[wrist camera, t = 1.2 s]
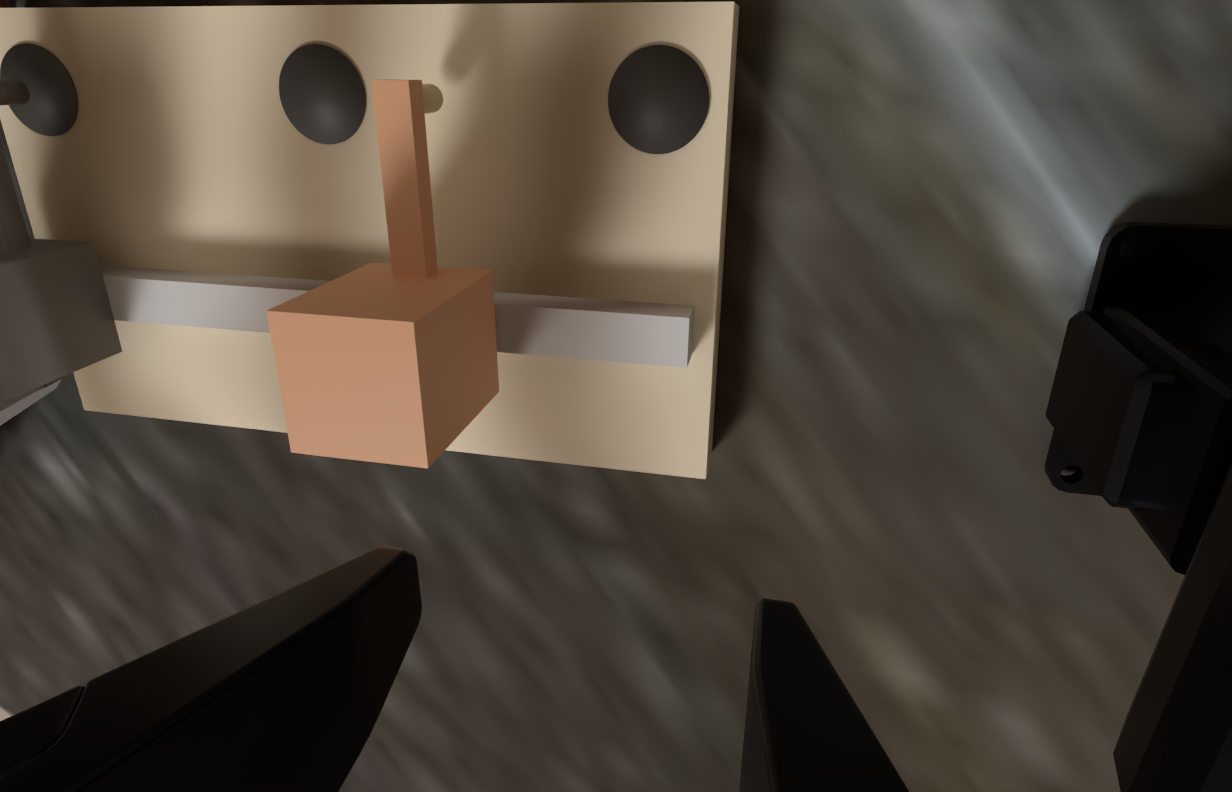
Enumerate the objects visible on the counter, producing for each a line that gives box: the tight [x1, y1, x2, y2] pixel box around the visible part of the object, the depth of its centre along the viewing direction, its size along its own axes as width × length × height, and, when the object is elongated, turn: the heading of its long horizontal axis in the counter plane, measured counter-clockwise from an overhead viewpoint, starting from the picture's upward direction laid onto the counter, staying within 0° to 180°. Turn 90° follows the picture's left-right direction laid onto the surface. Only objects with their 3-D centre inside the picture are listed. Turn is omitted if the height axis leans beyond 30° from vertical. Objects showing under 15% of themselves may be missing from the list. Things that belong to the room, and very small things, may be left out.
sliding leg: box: [266, 79, 499, 468], centre depth 16 cm, size 3×7×5 cm, turn 0°
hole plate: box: [0, 2, 739, 479], centre depth 18 cm, size 19×11×6 cm, turn 91°
